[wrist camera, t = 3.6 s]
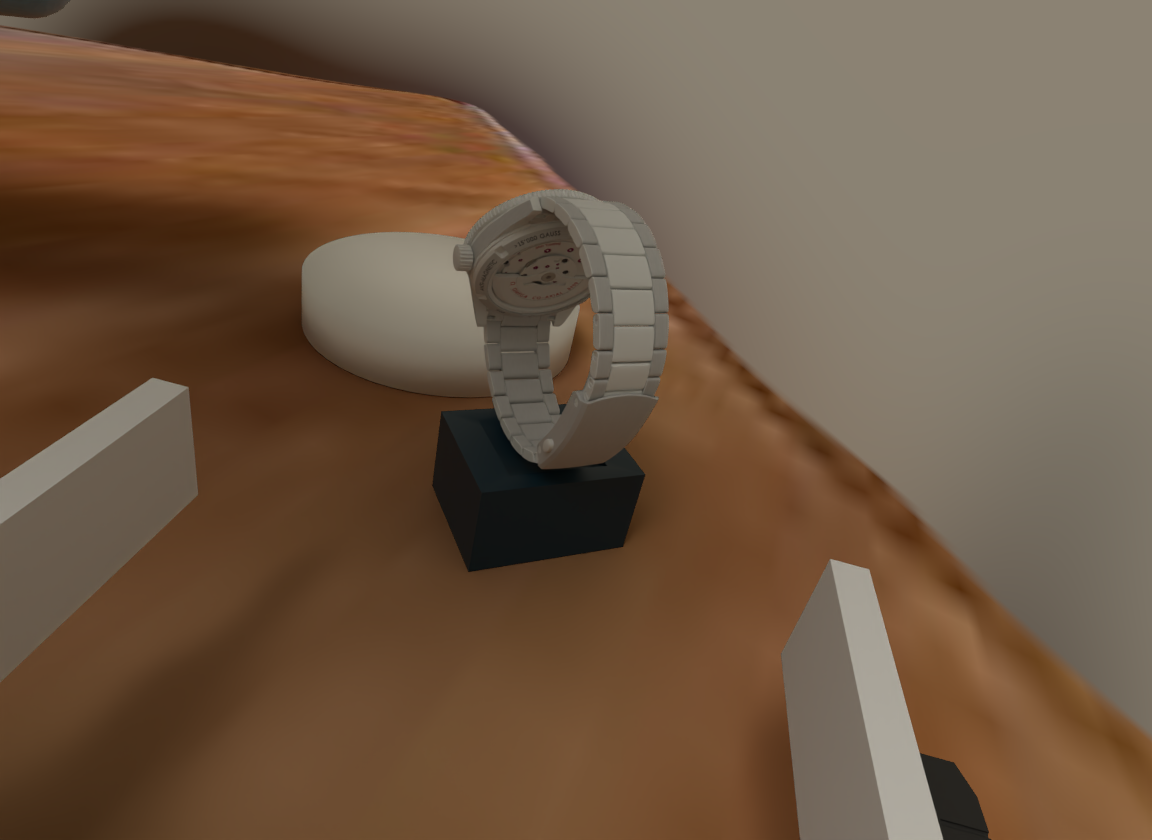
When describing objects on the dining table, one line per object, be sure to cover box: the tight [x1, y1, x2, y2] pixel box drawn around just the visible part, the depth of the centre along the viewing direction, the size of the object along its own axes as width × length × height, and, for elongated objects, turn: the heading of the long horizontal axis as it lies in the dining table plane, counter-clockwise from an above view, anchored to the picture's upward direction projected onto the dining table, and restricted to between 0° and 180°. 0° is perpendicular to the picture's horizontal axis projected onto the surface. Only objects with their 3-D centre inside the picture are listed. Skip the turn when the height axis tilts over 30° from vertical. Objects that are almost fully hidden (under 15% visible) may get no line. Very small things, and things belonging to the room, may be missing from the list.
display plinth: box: [302, 232, 580, 397], centre depth 35 cm, size 13×13×2 cm
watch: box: [432, 189, 669, 572], centre depth 22 cm, size 6×8×11 cm
